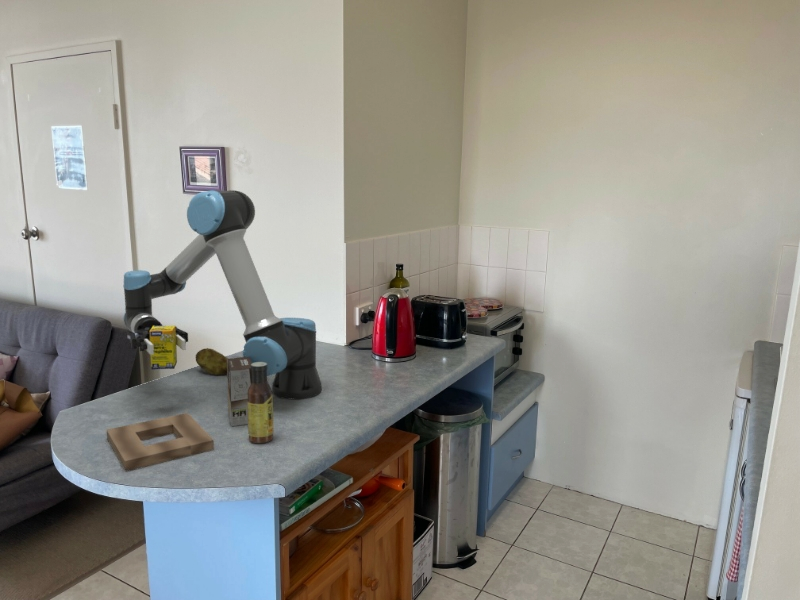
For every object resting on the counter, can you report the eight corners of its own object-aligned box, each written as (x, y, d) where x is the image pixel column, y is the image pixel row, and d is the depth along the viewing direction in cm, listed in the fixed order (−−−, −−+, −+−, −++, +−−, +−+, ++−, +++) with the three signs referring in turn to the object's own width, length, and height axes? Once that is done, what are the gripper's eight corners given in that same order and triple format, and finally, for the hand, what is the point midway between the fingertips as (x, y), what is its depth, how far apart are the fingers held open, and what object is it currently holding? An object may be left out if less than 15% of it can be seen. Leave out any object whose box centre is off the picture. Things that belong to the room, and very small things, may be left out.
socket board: (188, 421, 161) (187, 412, 160) (213, 449, 145) (213, 440, 145) (107, 438, 149) (106, 429, 149) (125, 471, 134) (125, 461, 133)
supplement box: (151, 370, 161) (148, 330, 159) (154, 363, 167) (152, 325, 164) (174, 369, 162) (172, 330, 160) (177, 362, 168) (175, 324, 166)
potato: (218, 380, 193) (217, 356, 192) (191, 372, 200) (190, 349, 198) (237, 373, 200) (237, 350, 199) (211, 366, 207) (210, 344, 205)
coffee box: (255, 423, 161) (255, 368, 157) (231, 426, 158) (229, 370, 154) (250, 409, 169) (250, 356, 165) (227, 411, 167) (226, 358, 162)
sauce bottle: (274, 443, 150) (273, 367, 145) (248, 445, 148) (247, 369, 144) (272, 432, 156) (271, 359, 152) (247, 434, 154) (245, 361, 150)
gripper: (182, 336, 184) (207, 355, 166) (110, 345, 172) (127, 367, 154) (181, 312, 182) (206, 329, 164) (108, 320, 171) (126, 339, 153)
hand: (168, 347), depth 159 cm, fingers closed on supplement box, 8 cm apart
